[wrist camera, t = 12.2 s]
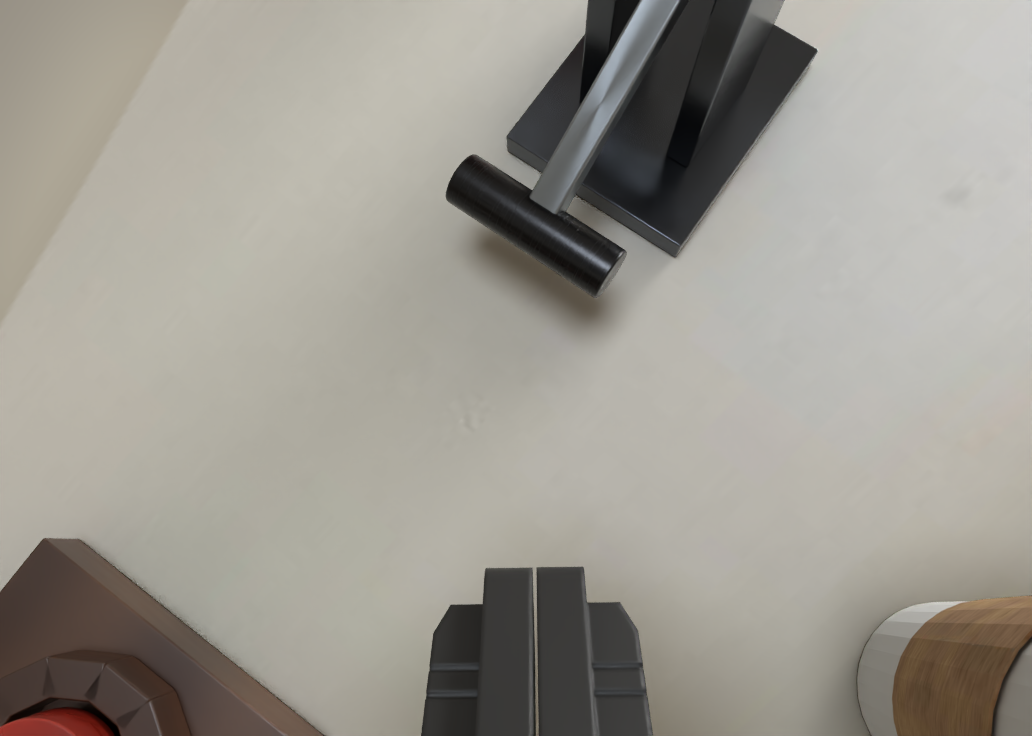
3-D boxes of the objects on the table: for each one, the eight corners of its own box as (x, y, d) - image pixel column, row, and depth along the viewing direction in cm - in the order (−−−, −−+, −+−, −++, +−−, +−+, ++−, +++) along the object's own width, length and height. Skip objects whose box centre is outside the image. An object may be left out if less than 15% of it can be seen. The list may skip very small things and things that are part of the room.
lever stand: (675, 258, 31) (753, 88, 20) (507, 151, 33) (489, -67, 21) (809, 67, 33) (952, -191, 22) (644, -29, 34) (696, -321, 23)
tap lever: (604, 294, 27) (588, 303, 25) (461, 201, 28) (434, 201, 26) (829, -64, 23) (834, -91, 21) (653, -160, 24) (640, -196, 22)
